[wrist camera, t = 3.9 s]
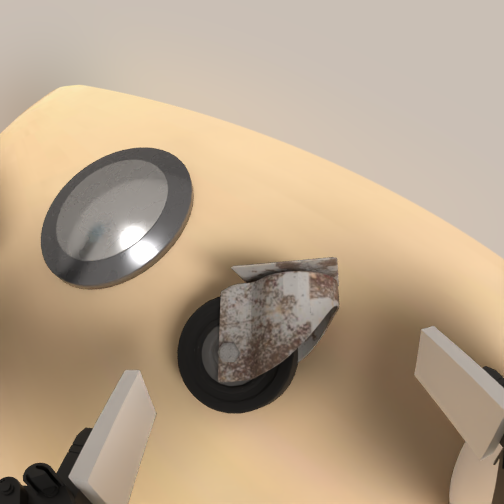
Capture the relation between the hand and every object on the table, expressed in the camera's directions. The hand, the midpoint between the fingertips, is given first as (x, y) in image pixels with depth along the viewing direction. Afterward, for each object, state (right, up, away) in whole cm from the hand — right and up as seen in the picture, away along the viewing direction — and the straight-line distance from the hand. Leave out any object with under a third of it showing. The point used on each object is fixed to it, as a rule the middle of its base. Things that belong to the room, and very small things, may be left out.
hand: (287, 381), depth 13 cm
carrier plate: (-17, +10, +19) cm, 27 cm away
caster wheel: (-1, -2, +10) cm, 10 cm away
